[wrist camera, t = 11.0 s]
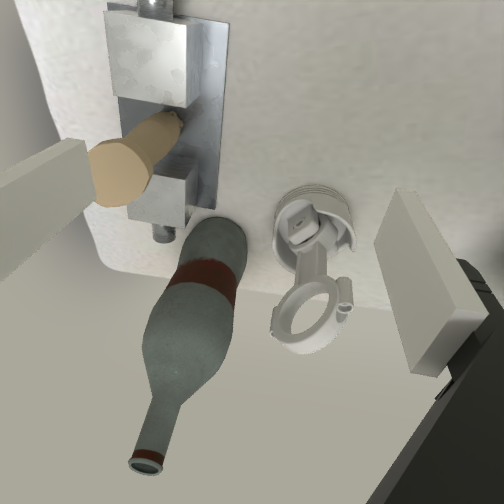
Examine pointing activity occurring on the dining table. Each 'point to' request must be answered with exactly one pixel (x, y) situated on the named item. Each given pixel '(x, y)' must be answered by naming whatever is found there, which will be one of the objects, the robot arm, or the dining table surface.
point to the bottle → (189, 332)
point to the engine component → (312, 264)
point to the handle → (132, 159)
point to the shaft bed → (171, 103)
